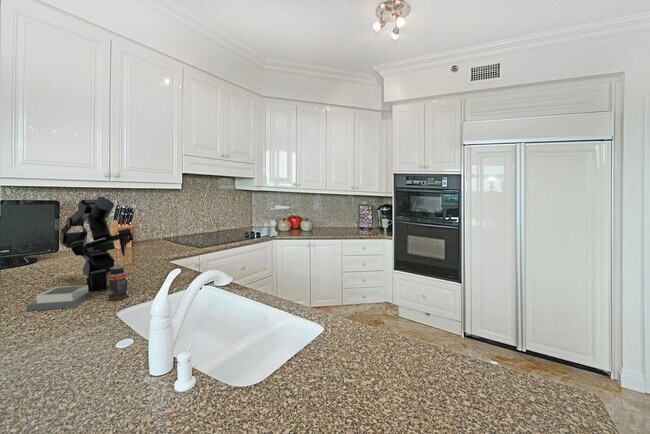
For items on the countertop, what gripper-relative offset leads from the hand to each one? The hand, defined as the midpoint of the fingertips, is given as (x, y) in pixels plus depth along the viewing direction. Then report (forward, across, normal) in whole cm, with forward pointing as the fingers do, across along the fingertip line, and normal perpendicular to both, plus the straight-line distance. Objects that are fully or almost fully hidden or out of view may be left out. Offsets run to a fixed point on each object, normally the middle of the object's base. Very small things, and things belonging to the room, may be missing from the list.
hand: (109, 260), depth 111 cm
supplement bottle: (+13, +1, -5) cm, 14 cm away
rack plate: (+7, +17, -6) cm, 19 cm away
